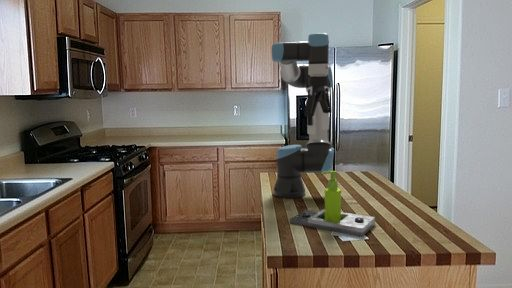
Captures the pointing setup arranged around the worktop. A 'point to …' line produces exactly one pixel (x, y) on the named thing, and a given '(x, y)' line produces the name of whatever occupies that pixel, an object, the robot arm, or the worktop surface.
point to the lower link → (303, 220)
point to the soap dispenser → (332, 199)
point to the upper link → (346, 222)
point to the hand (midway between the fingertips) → (318, 131)
